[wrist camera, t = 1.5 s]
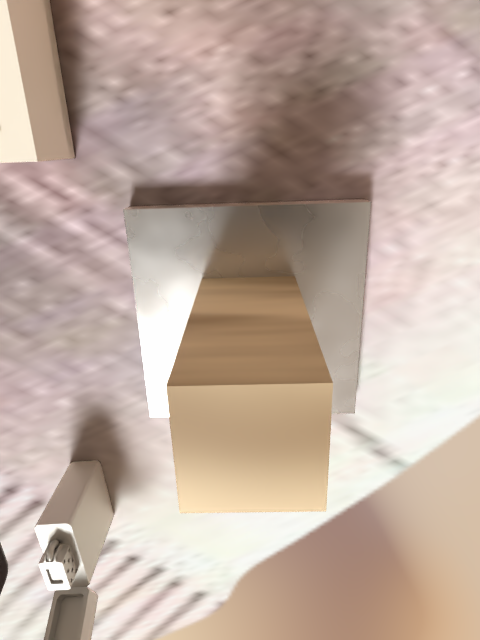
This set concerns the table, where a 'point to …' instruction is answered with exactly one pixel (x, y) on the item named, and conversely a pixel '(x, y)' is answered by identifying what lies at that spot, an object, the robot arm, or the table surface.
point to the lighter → (74, 548)
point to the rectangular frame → (31, 86)
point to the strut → (250, 401)
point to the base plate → (250, 274)
